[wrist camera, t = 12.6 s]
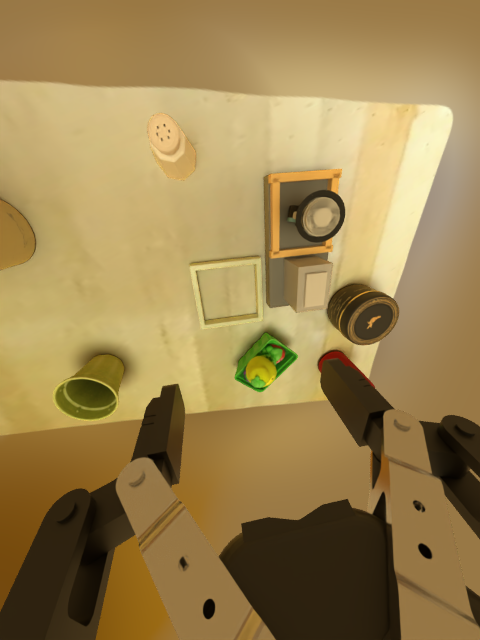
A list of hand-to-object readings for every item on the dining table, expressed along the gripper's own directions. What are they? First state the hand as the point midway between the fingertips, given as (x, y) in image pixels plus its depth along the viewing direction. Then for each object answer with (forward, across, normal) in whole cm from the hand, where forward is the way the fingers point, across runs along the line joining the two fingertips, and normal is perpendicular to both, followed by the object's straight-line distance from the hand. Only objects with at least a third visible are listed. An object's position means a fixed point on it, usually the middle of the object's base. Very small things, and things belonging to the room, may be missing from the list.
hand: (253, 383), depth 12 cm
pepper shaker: (+28, +4, -15) cm, 32 cm away
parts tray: (+28, -1, +5) cm, 29 cm away
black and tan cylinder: (+25, -14, -6) cm, 29 cm away
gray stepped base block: (+28, -13, -2) cm, 31 cm away
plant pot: (+28, +24, +17) cm, 41 cm away
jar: (+28, -25, +11) cm, 39 cm away
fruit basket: (+28, -6, +19) cm, 35 cm away
